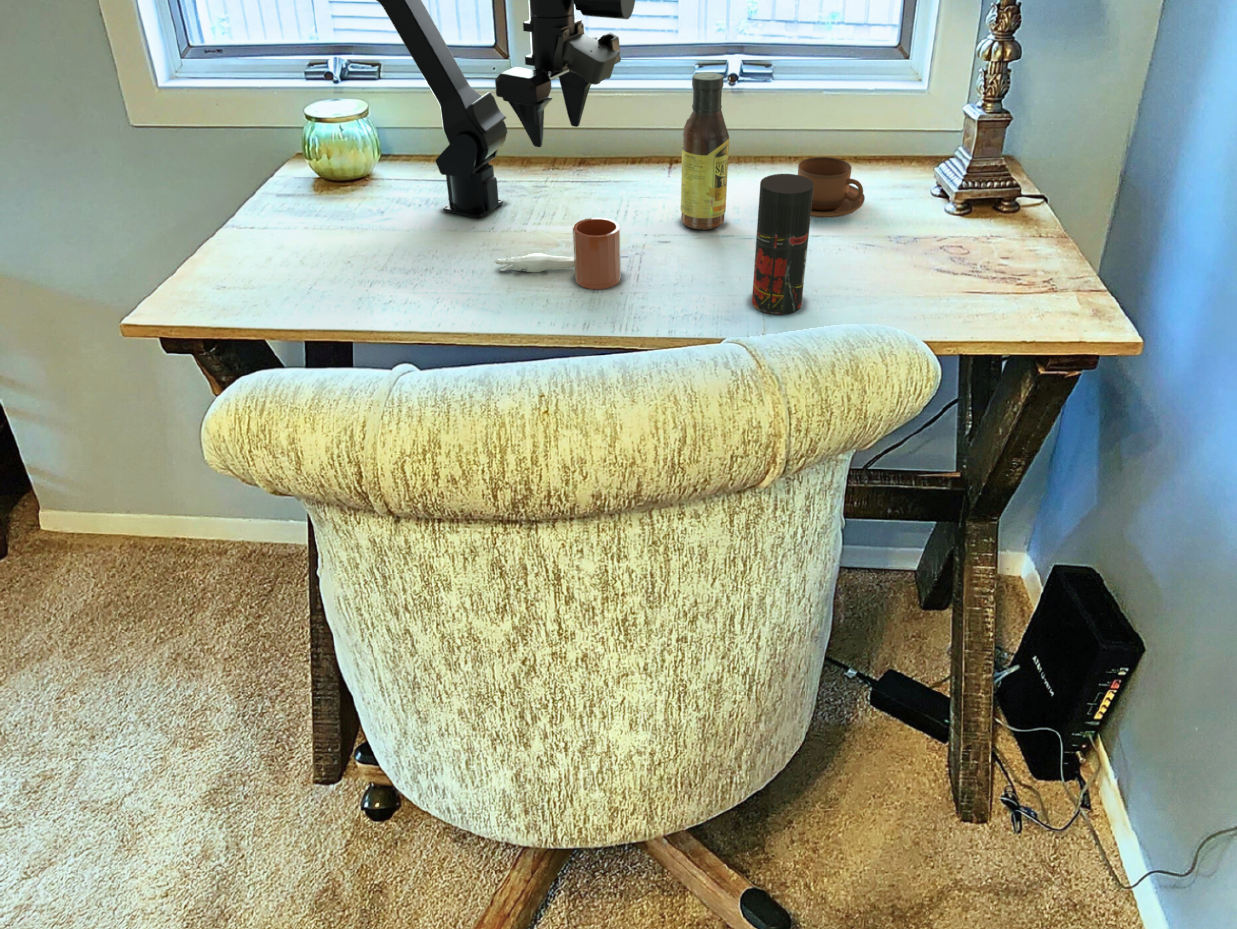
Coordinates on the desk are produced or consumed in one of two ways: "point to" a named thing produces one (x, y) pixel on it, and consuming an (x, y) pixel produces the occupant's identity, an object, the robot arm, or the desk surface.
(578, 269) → the cup
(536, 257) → the white elongated piece
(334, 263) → the desk surface
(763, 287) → the deodorant
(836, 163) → the cup and saucer
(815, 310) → the desk surface
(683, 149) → the sauce bottle
